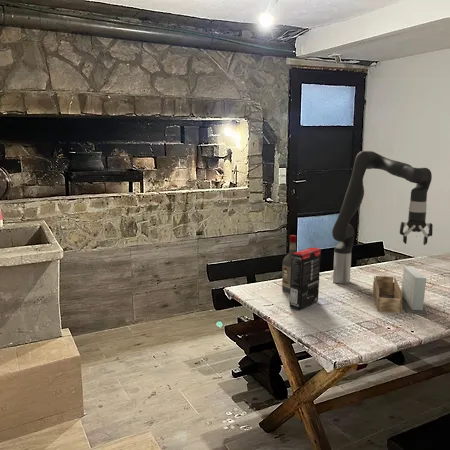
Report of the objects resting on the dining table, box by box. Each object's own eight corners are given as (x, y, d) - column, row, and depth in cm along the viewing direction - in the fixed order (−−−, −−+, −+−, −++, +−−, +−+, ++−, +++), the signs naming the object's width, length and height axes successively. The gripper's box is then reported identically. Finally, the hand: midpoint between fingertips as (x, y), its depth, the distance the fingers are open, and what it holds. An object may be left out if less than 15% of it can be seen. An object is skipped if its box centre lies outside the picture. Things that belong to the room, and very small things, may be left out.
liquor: (292, 286, 248) (293, 233, 242) (304, 291, 240) (305, 236, 235) (279, 289, 243) (280, 235, 238) (291, 294, 235) (292, 238, 230)
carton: (377, 311, 211) (378, 291, 210) (372, 292, 237) (373, 275, 235) (401, 313, 209) (402, 293, 207) (394, 294, 235) (395, 276, 233)
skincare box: (424, 311, 210) (426, 278, 207) (412, 310, 210) (414, 277, 208) (411, 295, 230) (413, 265, 228) (400, 295, 231) (402, 265, 228)
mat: (406, 312, 209) (406, 311, 209) (398, 295, 233) (398, 294, 233) (427, 314, 207) (427, 313, 207) (417, 296, 231) (417, 295, 231)
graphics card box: (307, 298, 229) (309, 246, 224) (319, 301, 225) (321, 248, 220) (288, 307, 217) (290, 252, 212) (301, 311, 212) (302, 254, 207)
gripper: (402, 211, 211) (400, 245, 214) (435, 212, 208) (432, 246, 211) (400, 208, 218) (398, 241, 221) (432, 209, 215) (429, 243, 218)
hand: (414, 244), depth 216 cm, fingers open, 8 cm apart
